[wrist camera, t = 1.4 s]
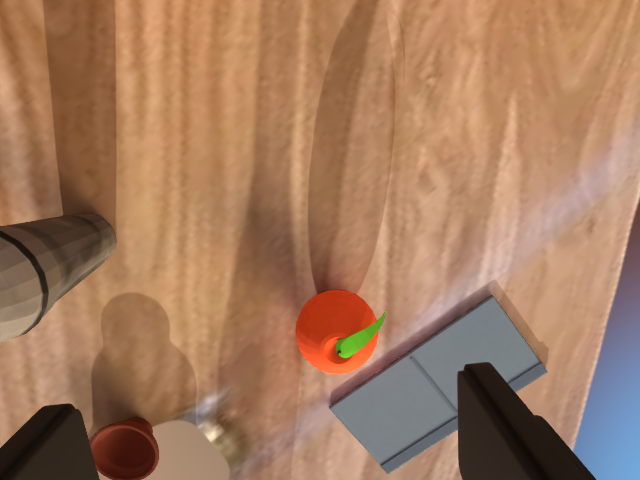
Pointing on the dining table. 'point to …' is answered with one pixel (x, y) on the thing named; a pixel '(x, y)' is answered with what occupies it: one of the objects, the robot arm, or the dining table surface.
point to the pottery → (125, 450)
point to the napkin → (433, 385)
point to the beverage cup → (46, 265)
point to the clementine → (337, 331)
